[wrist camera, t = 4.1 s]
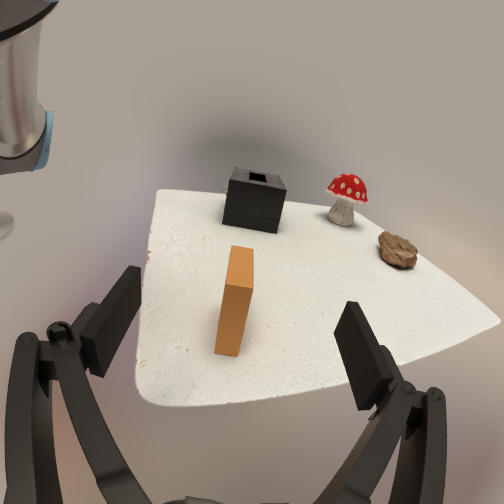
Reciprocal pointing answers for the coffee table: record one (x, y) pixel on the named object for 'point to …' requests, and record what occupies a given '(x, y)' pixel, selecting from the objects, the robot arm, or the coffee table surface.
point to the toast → (235, 301)
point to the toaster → (254, 200)
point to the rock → (397, 250)
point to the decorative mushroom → (346, 198)
